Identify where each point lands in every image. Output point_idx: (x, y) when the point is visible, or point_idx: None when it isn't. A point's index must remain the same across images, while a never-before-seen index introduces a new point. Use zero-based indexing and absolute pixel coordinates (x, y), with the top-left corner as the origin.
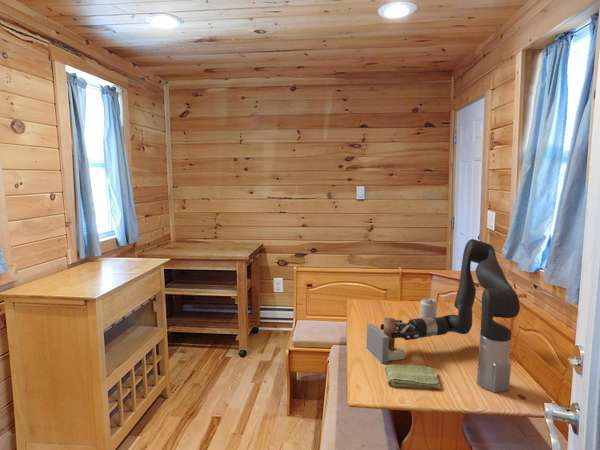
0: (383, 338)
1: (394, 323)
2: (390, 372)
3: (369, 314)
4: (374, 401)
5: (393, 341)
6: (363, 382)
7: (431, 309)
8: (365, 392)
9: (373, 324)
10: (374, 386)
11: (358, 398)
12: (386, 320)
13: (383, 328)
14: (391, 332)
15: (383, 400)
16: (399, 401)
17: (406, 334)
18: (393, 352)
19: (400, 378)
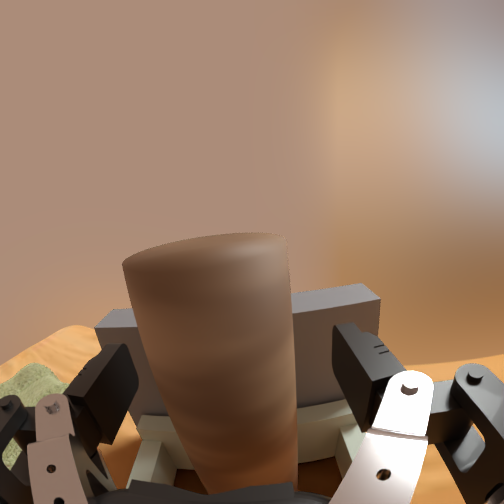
0: (112, 314)
1: (130, 299)
2: (53, 379)
3: None
4: (44, 340)
5: (192, 464)
6: (100, 348)
7: None
8: (72, 340)
9: (366, 300)
10: (71, 357)
11: (71, 328)
12: (194, 239)
13: (339, 370)
14: (120, 343)
15: (33, 349)
16: (8, 364)
17: (2, 401)
18: (138, 456)
19: (17, 378)
